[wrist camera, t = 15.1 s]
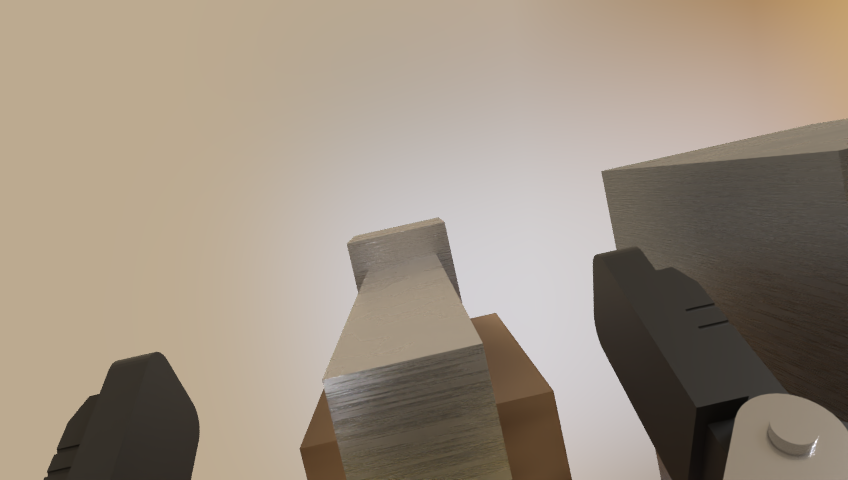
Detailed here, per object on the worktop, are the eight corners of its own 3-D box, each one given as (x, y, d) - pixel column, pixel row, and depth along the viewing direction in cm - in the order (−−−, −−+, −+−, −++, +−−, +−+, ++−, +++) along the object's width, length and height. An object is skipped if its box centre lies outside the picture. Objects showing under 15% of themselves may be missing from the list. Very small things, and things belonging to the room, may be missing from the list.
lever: (456, 300, 36) (438, 217, 36) (549, 489, 13) (502, 267, 13) (373, 318, 36) (354, 236, 36) (325, 541, 13) (271, 319, 13)
